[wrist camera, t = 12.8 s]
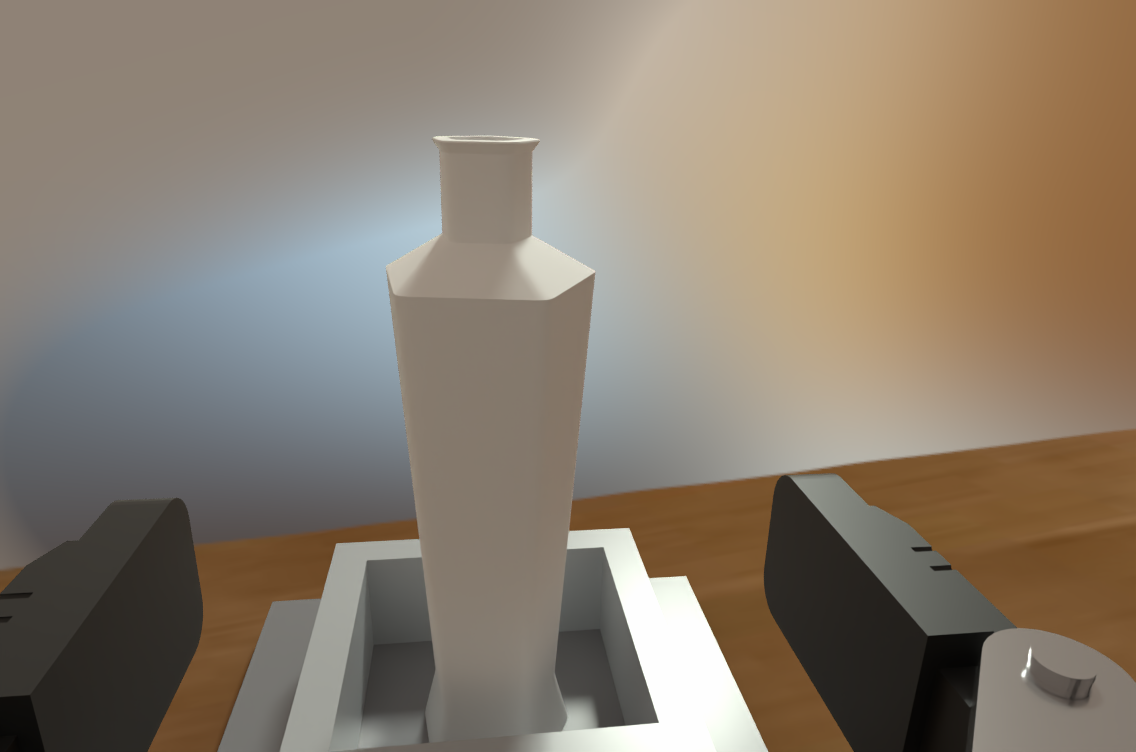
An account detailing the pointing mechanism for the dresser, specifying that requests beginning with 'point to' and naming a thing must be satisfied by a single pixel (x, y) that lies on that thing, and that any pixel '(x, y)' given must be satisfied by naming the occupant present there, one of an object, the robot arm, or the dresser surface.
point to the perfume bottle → (491, 437)
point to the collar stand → (406, 668)
